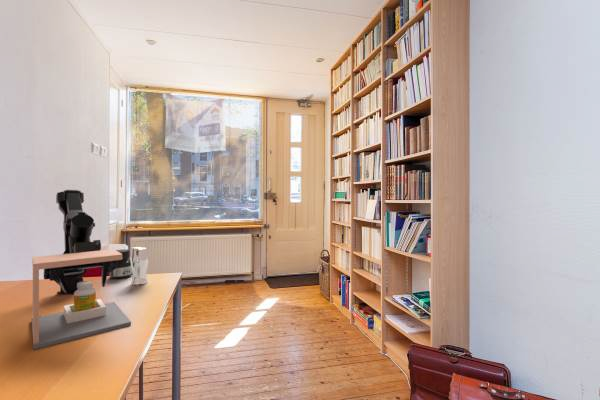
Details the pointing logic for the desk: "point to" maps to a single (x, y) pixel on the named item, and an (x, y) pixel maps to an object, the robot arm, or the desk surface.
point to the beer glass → (139, 264)
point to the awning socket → (70, 322)
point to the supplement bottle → (84, 296)
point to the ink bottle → (122, 266)
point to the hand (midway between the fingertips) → (85, 289)
